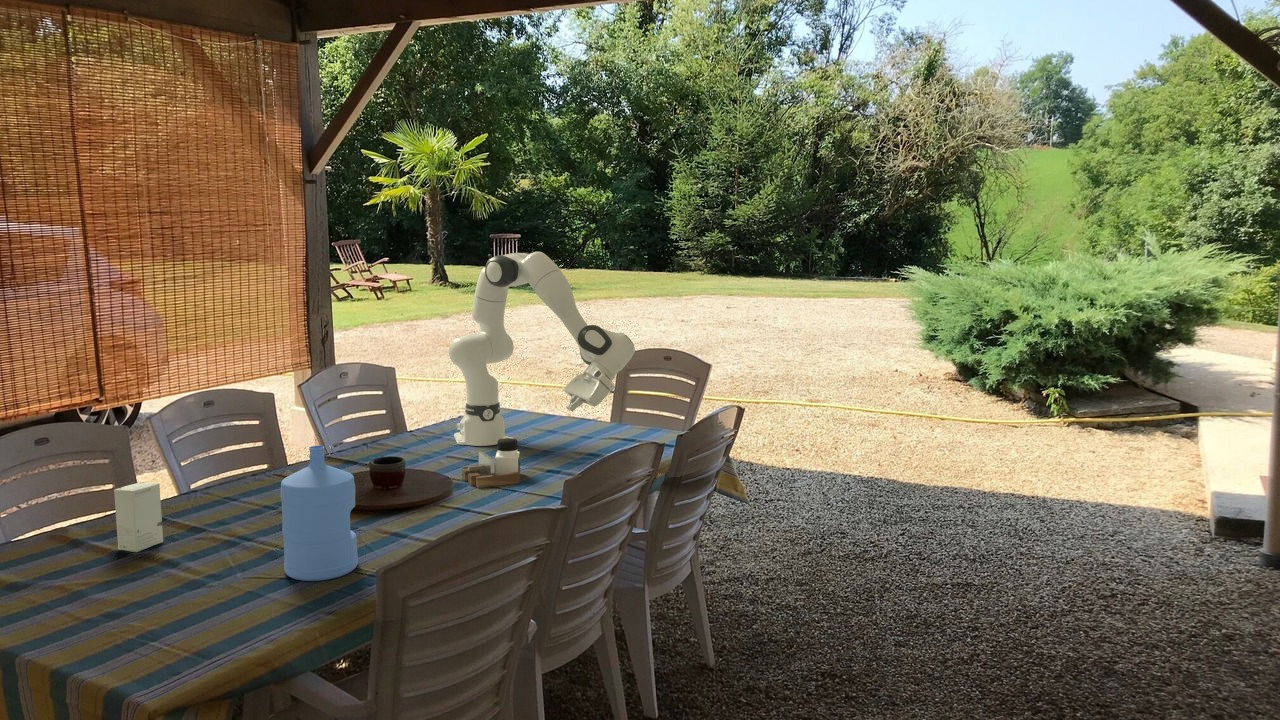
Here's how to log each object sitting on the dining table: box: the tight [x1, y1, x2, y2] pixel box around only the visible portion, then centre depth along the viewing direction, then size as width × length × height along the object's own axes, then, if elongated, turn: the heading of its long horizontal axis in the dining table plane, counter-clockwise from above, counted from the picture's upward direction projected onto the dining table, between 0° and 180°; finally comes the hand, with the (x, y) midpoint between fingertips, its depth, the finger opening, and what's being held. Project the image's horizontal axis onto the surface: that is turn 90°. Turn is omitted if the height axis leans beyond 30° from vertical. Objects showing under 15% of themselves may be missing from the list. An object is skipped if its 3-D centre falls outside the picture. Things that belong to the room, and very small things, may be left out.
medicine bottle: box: [494, 436, 521, 477], centre depth 281 cm, size 7×7×12 cm
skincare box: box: [113, 481, 164, 553], centre depth 217 cm, size 8×6×15 cm
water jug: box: [280, 445, 359, 582], centre depth 203 cm, size 16×16×28 cm
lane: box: [461, 462, 520, 489], centre depth 278 cm, size 15×14×3 cm
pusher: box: [468, 451, 495, 476], centre depth 276 cm, size 11×6×7 cm, turn 28°
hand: (569, 409), depth 288 cm, fingers closed
